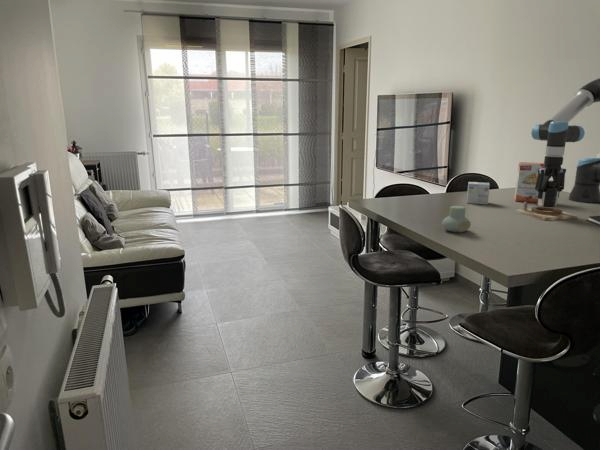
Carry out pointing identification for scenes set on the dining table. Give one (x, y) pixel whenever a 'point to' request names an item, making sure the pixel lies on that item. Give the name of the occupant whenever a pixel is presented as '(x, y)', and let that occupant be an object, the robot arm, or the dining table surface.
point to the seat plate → (547, 217)
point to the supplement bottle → (550, 194)
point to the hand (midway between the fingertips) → (547, 205)
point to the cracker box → (527, 181)
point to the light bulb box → (478, 193)
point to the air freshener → (456, 220)
